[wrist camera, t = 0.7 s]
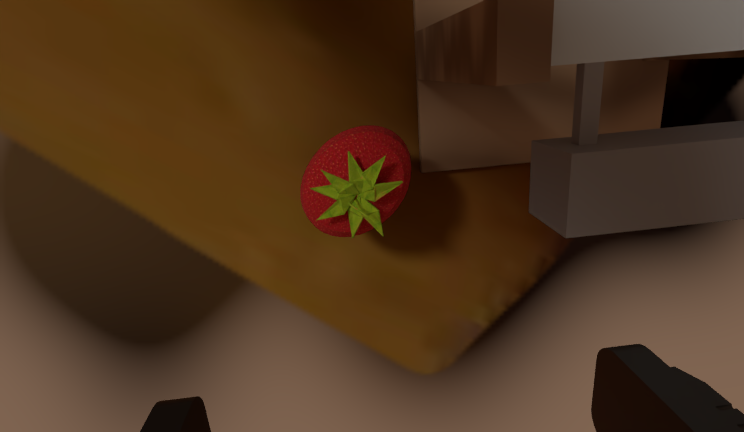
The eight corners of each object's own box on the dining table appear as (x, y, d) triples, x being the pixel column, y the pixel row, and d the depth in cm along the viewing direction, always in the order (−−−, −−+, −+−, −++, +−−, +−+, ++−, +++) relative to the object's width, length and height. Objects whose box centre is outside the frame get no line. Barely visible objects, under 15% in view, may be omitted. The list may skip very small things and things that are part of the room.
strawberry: (416, 156, 32) (453, 191, 22) (344, 226, 33) (350, 288, 23) (359, 96, 30) (373, 107, 21) (285, 172, 31) (266, 216, 22)
